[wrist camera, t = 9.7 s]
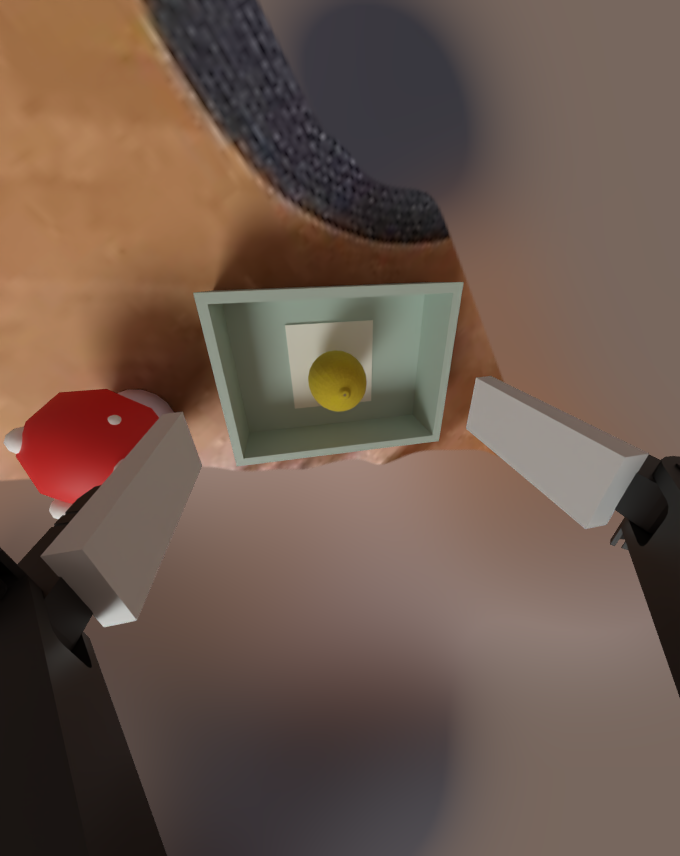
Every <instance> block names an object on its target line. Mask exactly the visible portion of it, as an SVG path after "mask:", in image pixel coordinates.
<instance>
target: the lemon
mask: <svg viewBox="0 0 680 856" xmlns="http://www.w3.org/2000/svg"><path fill="white" fill-rule="evenodd" d="M308 383H309V388H310V391H311V394H312V395H313V397H314V398H315V400H316V401H317V402H318V403H319V404H320V405H322V406H323V407H324V408H326V409H329V410H331V411H336V412H340V411H346V410H350V409H351V408H353V407H355V406H356V405H357V404H358V403H359V402H360V401H361V400H362V398H363V396H364V394H365V391H366V385H367V381H366V374H365V371H364V369H363V366H362V365H361V364H360V362H359V361H358V360H357V359H356V358H355V357H354V356H352V355H351V354H349V353H346V352H344V351H337V350H335V351H328V352H326V353H323V354H322V355H320V356H319V357H318V358H317V359H316V360H315V361H314V362H313V364H312V366H311V368H310V370H309V376H308Z"/></svg>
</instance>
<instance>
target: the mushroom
mask: <svg viewBox="0 0 680 856" xmlns="http://www.w3.org/2000/svg"><path fill="white" fill-rule="evenodd" d="M167 413H174V412H173V410H172V409H171V407H170V406H169V405H168V403H167V402H166V401H164V400H163V399H162V398H160V397H159V396H158V395H156V394H153V393H150V392H148V391H145V390H132V389H128V390H125V391H122V392H119V393H115V392H113V391H110V390H108V389H100V390H87V391H74V392H60V393H58V394H57V395H56V396H55V397H54V398H52V399H51V400H50V401H49V402H48V403H47V404H46V405H44V406H43V407H42V408H41V409H40V410H39V411H38V412H36V413H35V414H34V415H33V416H32V417H31V418H29V419H28V420H27V421H26V422H25V426H24V427H20V428H16V429H13V430H12V431H10V432H9V433H8V434H7V435H6V436H5V440H4V444H5V446H6V447H7V449H8V450H9V451H11V452H13V453H15V454H16V457H17V459H18V461H19V462H20V464H21V465H22V467H23V468H24V470H25V471H26V473H27V474H28V476H29V477H30V479H31V480H32V482H33V483H34V485H35V486H36V488H37V489H38V491H39V492H40V493H41V494H43V495H46V496H49V497H52V498H55V499H54V500H53V501H52V503H51V506H50V509H49V511H50V513H51V514H52V516H53V517H54V518H56V519H59V518H60V517H61V516H62V515H65V512H66V511H67V510H68V509H69V507H70V506H71V505H72V504H73V503H74V502H75V501H76V500H77V499H78V498H79V497H81V496H82V495H84V494H85V493H86V492H88V491H89V490H91V489H92V488H93V487H95V486H100V485H102V484H103V483H104V482H105V480H106V479H107V478H108V477H109V476H110V475H111V474H112V472H113V471H114V470H115V469H116V468H117V467H118V465H119V464H120V463H121V462H122V461H123V460H124V458H125V457H126V456H127V455H128V454H129V453H130V451H131V450H132V449H133V448H134V447H135V446H136V444H137V443H138V442H139V441H140V440H141V439H142V437H143V436H144V435H145V434H146V433H147V432H148V430H149V429H150V428H151V427H152V426H153V425H154V424H155V422H156V421H157V420H158V419H159V418H160V417H161V415H162V414H167Z"/></svg>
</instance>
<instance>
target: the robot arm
mask: <svg viewBox="0 0 680 856" xmlns="http://www.w3.org/2000/svg"><path fill="white" fill-rule="evenodd" d="M466 429H467V430H468V431H470V432H471V433H472V434H473V435H474V436H476V437H477V438H478V439H479V440H480V441H482V442H483V443H484V444H485V445H486V446H487V447H489V448H490V449H491V450H492V451H493V452H495V453H496V454H497V455H498V456H499V457H501V458H502V459H503V460H504V461H505V462H506V463H508V464H509V465H510V466H511V467H512V468H514V469H515V470H516V471H517V472H518V473H520V474H521V475H522V476H523V477H524V478H525V479H527V480H528V481H529V482H530V483H531V484H533V485H534V486H535V487H536V488H537V489H539V490H540V491H541V492H542V493H543V494H545V495H546V496H547V497H548V498H549V499H551V500H552V501H553V502H554V503H555V504H556V505H558V506H559V507H560V508H561V509H562V510H564V511H565V512H566V513H567V514H568V515H570V516H571V517H572V518H573V519H574V520H576V521H577V522H578V523H579V524H580V525H581V526H583V527H584V528H585V529H588V528H593V527H597V526H602V525H607V523H608V521H609V520H610V518H611V516H612V515H613V513H614V511H615V510H616V511H617V512H619V513H620V514H622V515H623V516H624V517H625V518H624V519H623V521H622V522H621V524H620V525H619V527H618V529H617V530H616V532H615V533H614V535H613V537H612V538H611V541H610V545H613V546H615V545H616V543H617V542H618V540H619V539H625V543H624V544H623V545H622V547H621V548H624V549H627V550H629V553H630V556H631V558H632V562H633V564H634V567H635V570H636V573H637V576H638V579H639V582H640V585H641V587H642V590H643V593H644V596H645V599H646V601H647V604H648V607H649V610H650V613H651V616H652V619H653V622H654V624H655V628H656V630H657V633H658V636H659V639H660V642H661V645H662V648H663V651H664V654H665V656H666V659H667V662H668V665H669V668H670V671H671V674H672V677H673V679H674V682H675V685H676V688H677V690H678V694H679V697H680V457H676V456H670V457H665V458H663V459H661V460H659V459H657V458H655V457H653V456H651V455H649V453H647V452H645V451H643V450H641V449H639V448H637V447H635V446H633V445H631V444H629V443H627V442H625V441H623V440H621V439H619V438H617V437H614V436H612V435H610V434H608V433H606V432H604V431H602V430H600V429H598V428H596V427H594V426H592V425H590V424H588V423H586V422H584V421H582V420H580V419H578V418H575V417H574V416H572V415H569V414H567V413H565V412H563V411H561V410H559V409H557V408H555V407H553V406H551V405H549V404H547V403H545V402H543V401H541V400H539V399H537V398H535V397H532V396H531V395H529V394H527V393H525V392H523V391H520V390H518V389H516V388H514V387H512V386H510V385H508V384H506V383H504V382H502V381H500V380H498V379H496V378H494V377H492V376H487V377H479V378H476V381H475V386H474V391H473V396H472V401H471V406H470V411H469V416H468V421H467V427H466ZM201 467H202V464H201V461H200V458H199V456H198V453H197V450H196V447H195V445H194V442H193V439H192V436H191V434H190V431H189V428H188V425H187V423H186V420H185V417H184V414H183V412H176V413H167V414H162V415H161V417H160V418H159V419H158V420H157V421H156V422H155V424H154V425H153V426H152V427H151V428H150V429H149V430H148V432H147V433H146V434H145V435H144V436H143V437H142V439H141V440H140V441H139V442H138V443H137V444H136V446H135V447H134V448H133V449H132V450H131V451H130V453H129V454H128V455H127V456H126V457H125V458H124V460H123V461H122V462H121V463H120V464H119V465H118V467H117V468H116V469H115V470H114V471H113V472H112V474H111V475H110V476H109V477H108V478H107V479H106V480H105V482H104V483H103V484H102V485H100V486H95V487H93V488H92V489H91V490H89V491H88V492H86V493H85V494H84V495H82V496H81V497H79V498H78V499H77V500H76V501H75V502H74V503H73V504H72V505H71V506H70V507H69V509H68V510H67V511H66V512H65V515H62V516H61V517H60V518H59V519H58V521H57V522H56V523H55V524H54V525H55V526H54V527H51V528H50V529H49V530H48V532H47V533H46V534H45V535H44V536H43V537H42V538H41V539H40V540H39V541H38V542H37V544H36V545H35V546H34V547H33V548H32V549H31V550H30V551H29V552H28V554H26V556H25V557H24V558H23V559H22V560H21V561H20V562H19V563H18V564H16V563H15V562H14V561H13V560H12V559H11V558H10V557H9V556H8V555H7V554H6V553H5V552H4V551H3V550H2V549H1V548H0V856H167V854H166V851H165V848H164V845H163V843H162V840H161V837H160V835H159V831H158V829H157V826H156V823H155V820H154V817H153V815H152V812H151V809H150V807H149V804H148V801H147V798H146V795H145V792H144V789H143V787H142V784H141V781H140V778H139V775H138V773H137V770H136V767H135V764H134V761H133V759H132V756H131V753H130V750H129V747H128V745H127V742H126V739H125V736H124V733H123V730H122V728H121V725H120V722H119V720H118V716H117V714H116V711H115V708H114V705H113V702H112V700H111V697H110V694H109V691H108V688H107V686H106V683H105V680H104V677H103V674H102V672H101V669H100V666H99V663H98V661H97V658H96V655H95V653H94V649H93V646H92V644H91V641H90V638H89V637H88V636H87V635H86V634H85V633H84V632H83V631H84V629H85V627H86V625H87V623H88V622H89V620H90V618H91V616H92V614H93V615H94V617H95V618H96V619H97V620H98V621H99V622H100V623H101V624H102V625H103V627H107V626H112V625H117V624H122V623H127V622H132V621H137V619H138V616H139V614H140V612H141V610H142V607H143V605H144V602H145V600H146V597H147V595H148V593H149V591H150V588H151V586H152V584H153V581H154V579H155V576H156V574H157V572H158V569H159V567H160V565H161V562H162V559H163V557H164V555H165V553H166V550H167V548H168V546H169V543H170V541H171V538H172V536H173V534H174V531H175V529H176V527H177V524H178V522H179V519H180V517H181V514H182V512H183V510H184V508H185V505H186V503H187V500H188V498H189V496H190V493H191V491H192V488H193V486H194V484H195V482H196V479H197V477H198V474H199V472H200V469H201Z"/></svg>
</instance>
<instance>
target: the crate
mask: <svg viewBox="0 0 680 856" xmlns="http://www.w3.org/2000/svg"><path fill="white" fill-rule="evenodd" d="M462 289H463V282H419V283H393V284H368V285H342V286H317V287H291V288H265V289H240V290H214V291H205V292H197V293H193V294H194V298H195V302H196V306H197V310H198V314H199V318H200V322H201V326H202V330H203V334H204V338H205V342H206V346H207V350H208V354H209V358H210V362H211V366H212V370H213V374H214V378H215V382H216V385H217V389H218V393H219V397H220V401H221V405H222V409H223V413H224V417H225V421H226V425H227V429H228V433H229V437H230V441H231V445H232V449H233V453H234V457H235V461H236V465H237V466H244V465H251V464H259V463H267V462H275V461H283V460H291V459H299V458H307V457H315V456H323V455H331V454H339V453H347V452H355V451H363V450H370V449H378V448H386V447H394V446H402V445H410V444H418V443H426V442H434V441H439V436H440V430H441V423H442V417H443V410H444V404H445V398H446V391H447V385H448V378H449V372H450V366H451V359H452V353H453V346H454V340H455V334H456V327H457V321H458V314H459V308H460V302H461V295H462ZM335 350H337V351H344V352H346V353H349V354H351V355H352V356H354V357H355V358H356V359H357V360H358V361H359V362H360V364H361V365H362V366H363V369H364V371H365V374H366V381H367V385H366V391H365V394H364V396H363V398H362V400H361V401H360V402H359V403H358V404H357V405H356V406H355V407H353V408H351V409H350V410H346V411H340V412H336V411H331V410H329V409H326V408H324V407H323V406H322V405H320V404H319V403H318V402H317V401H316V400H315V398H314V397H313V395H312V394H311V391H310V388H309V383H308V376H309V370H310V368H311V366H312V364H313V362H314V361H315V360H316V359H317V358H318V357H319V356H320V355H322V354H323V353H326V352H328V351H335Z"/></svg>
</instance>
